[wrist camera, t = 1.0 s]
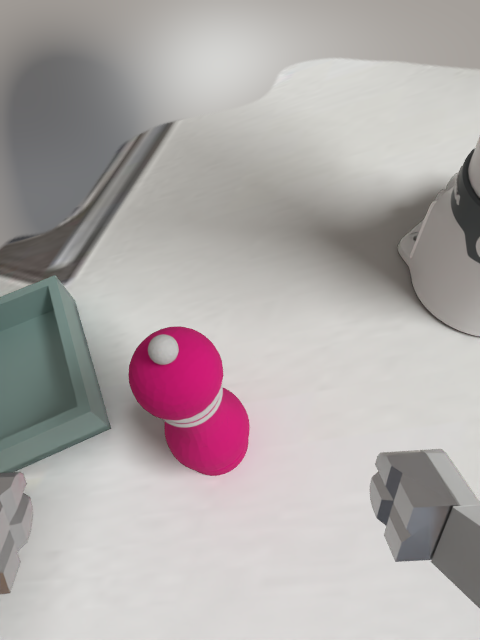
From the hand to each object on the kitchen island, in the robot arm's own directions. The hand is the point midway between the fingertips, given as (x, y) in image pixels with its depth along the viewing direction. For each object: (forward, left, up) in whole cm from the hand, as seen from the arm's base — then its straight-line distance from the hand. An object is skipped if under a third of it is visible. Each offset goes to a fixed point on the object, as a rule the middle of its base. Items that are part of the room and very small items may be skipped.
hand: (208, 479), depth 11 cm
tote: (+3, -31, -31) cm, 44 cm away
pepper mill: (-5, -10, -31) cm, 33 cm away
